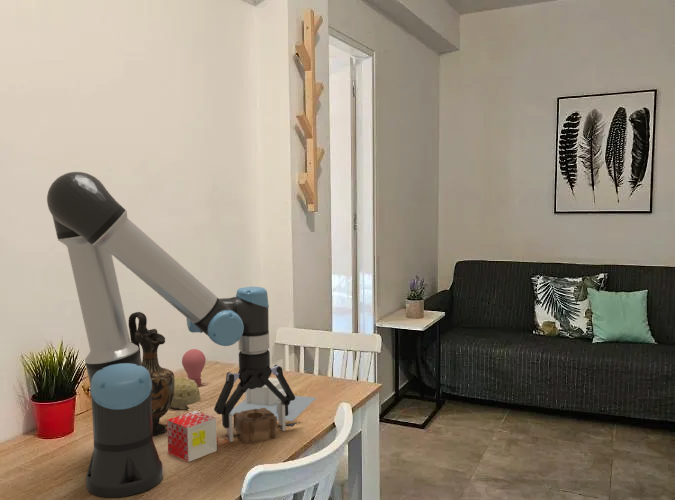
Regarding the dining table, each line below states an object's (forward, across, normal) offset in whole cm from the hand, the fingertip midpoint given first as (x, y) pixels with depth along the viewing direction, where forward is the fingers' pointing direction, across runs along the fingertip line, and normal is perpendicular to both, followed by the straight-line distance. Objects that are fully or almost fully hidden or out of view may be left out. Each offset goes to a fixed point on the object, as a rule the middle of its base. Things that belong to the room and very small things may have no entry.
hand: (256, 434), depth 154 cm
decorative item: (0, +10, -31) cm, 33 cm away
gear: (-1, -10, -20) cm, 22 cm away
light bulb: (0, +3, -45) cm, 45 cm away
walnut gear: (0, 0, 0) cm, 0 cm away
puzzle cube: (0, +17, +2) cm, 17 cm away
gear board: (0, -10, -14) cm, 17 cm away
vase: (0, +22, -16) cm, 28 cm away
